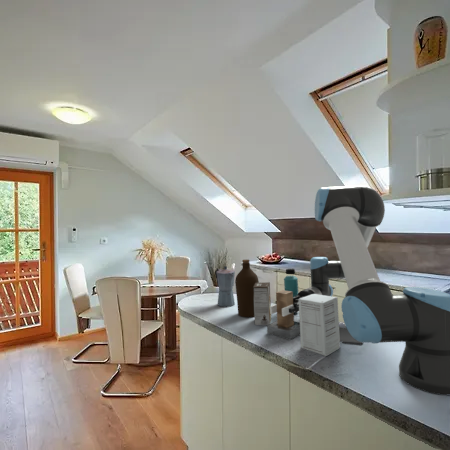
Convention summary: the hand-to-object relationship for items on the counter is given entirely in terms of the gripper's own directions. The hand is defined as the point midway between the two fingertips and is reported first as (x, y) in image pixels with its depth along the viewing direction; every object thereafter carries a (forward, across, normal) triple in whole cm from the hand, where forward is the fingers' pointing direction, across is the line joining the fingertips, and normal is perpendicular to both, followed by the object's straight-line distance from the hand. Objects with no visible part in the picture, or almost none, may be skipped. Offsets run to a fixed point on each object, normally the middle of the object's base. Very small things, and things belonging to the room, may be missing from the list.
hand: (276, 311), depth 115 cm
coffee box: (-11, +15, -10) cm, 21 cm away
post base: (-5, 0, -10) cm, 11 cm away
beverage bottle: (-29, +12, -10) cm, 33 cm away
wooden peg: (-5, 0, -9) cm, 10 cm away
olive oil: (-16, +27, -10) cm, 33 cm away
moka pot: (-22, +47, -10) cm, 53 cm away
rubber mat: (-16, -17, -10) cm, 25 cm away
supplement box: (-1, -16, -10) cm, 19 cm away
